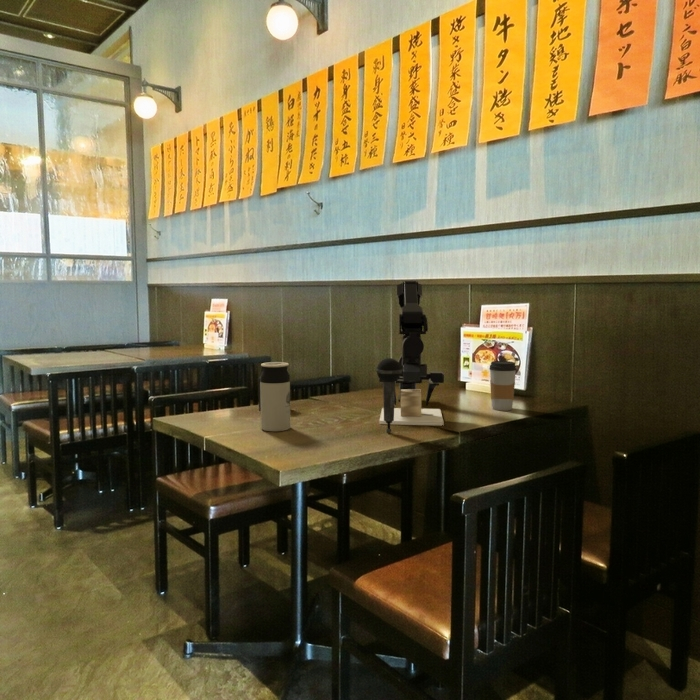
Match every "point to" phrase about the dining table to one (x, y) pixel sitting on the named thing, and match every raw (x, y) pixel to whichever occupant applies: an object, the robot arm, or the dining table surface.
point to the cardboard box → (411, 402)
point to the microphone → (389, 386)
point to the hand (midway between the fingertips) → (411, 405)
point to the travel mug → (275, 396)
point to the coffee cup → (502, 384)
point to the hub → (415, 418)
